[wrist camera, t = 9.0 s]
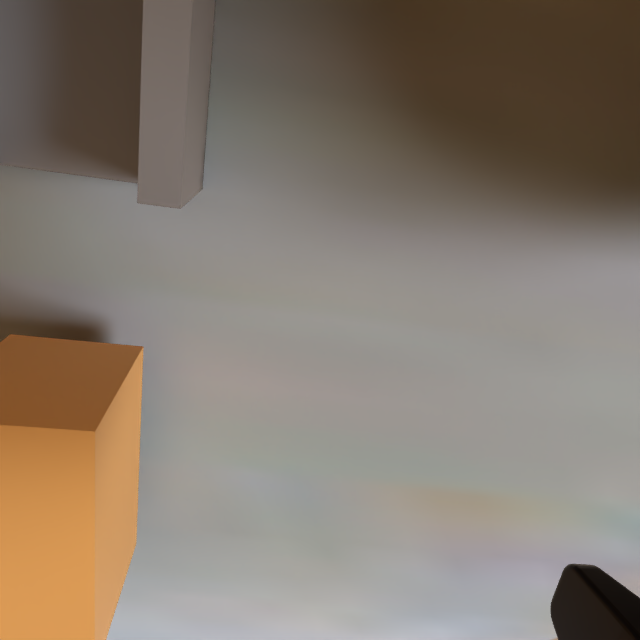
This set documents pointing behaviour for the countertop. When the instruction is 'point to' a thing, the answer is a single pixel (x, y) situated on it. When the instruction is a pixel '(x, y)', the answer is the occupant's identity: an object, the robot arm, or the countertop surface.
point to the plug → (66, 484)
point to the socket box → (108, 91)
